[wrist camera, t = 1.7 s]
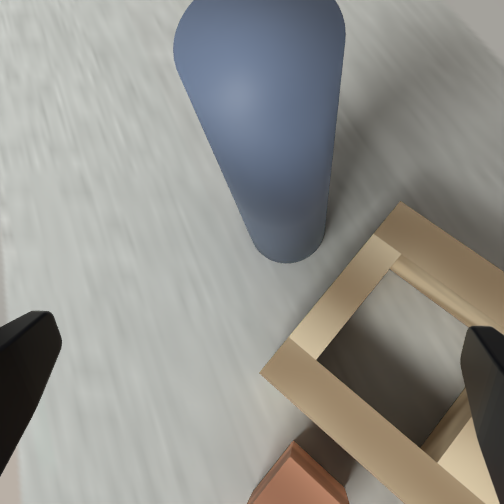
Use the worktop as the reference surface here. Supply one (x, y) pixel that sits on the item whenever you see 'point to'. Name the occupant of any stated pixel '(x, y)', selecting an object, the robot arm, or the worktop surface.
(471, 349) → the robot arm
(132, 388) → the worktop surface
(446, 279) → the socket board
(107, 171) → the worktop surface
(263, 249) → the blue-grey cylinder
